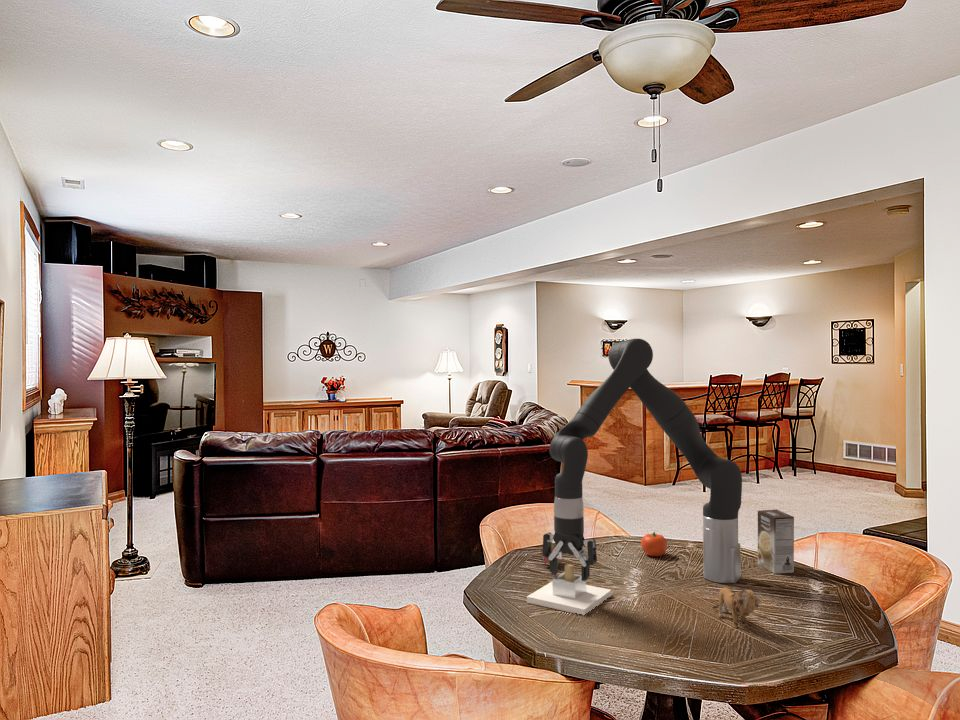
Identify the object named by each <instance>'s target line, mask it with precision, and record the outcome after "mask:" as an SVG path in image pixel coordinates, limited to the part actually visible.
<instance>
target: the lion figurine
mask: <svg viewBox="0 0 960 720" xmlns="http://www.w3.org/2000/svg"><path fill="white" fill-rule="evenodd" d="M718 593H719V594H718V603H717V604H716V605H713V606H712V609H713V610H715V609H718V615H717V617H718V618H719V619H723V618H724V615H723V612H724V613H726V614H727V613H729V611H731V614H732V627H735V628H734V629H738V628H737V627H739V628H740V626H739V623H738V616H740V625H741V626H742V625H743V627H748V623H747V622H745V620H746V617H748V616H749V615H750V614H752V613H753V612H754V611H755V610H756V609H758V608H759V606H760V605H761V602H762V600H761V599H760V598H758V597H757V596H756V595H755V594H754V591H753V590H751V589H744V590H739V591H735V592H734V593H733V591H732V590H731V589H730V588H728V587H723V588H721V589H720V590H719V592H718ZM728 609H729V610H728Z"/></svg>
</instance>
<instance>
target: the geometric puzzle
mask: <svg viewBox="0 0 960 720" xmlns="http://www.w3.org/2000/svg"><path fill="white" fill-rule="evenodd" d="M556 546H557V545H556V543H554V542H553V541H552V542H551V552H552V551H553V550H554V548H555V547H556ZM540 552H541V555H542V554H543V548H541V549H540ZM563 555H564V554H563V553H562V552H561V553H560V554H559V555H558V556H557V558H556V559H558V564H559V565H560V563H561V561H563ZM542 559H543V562H544V564H545V565H546V563H548V565H550V560H549V559H548V558H547V557H544V556H543V555H542V557H541V558H540V557H539V558H538V560H541V561H542Z"/></svg>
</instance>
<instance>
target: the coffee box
mask: <svg viewBox="0 0 960 720" xmlns="http://www.w3.org/2000/svg"><path fill="white" fill-rule="evenodd" d="M794 560H795V517H794V516H793V515H791V514H788V513H787V512H786V513H785V512H783V511H781V510H778V509H764V510H763V509H762V510H757V565H759V566H760V567H762V568H764V569H766V570H767V571H769V572H771V573H773V574H789V573H794V572H795V571H794V570H795V565H794V564H795V561H794Z"/></svg>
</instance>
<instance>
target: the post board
mask: <svg viewBox="0 0 960 720" xmlns="http://www.w3.org/2000/svg"><path fill="white" fill-rule="evenodd" d="M564 572H565V580H568V581H574V574H575V565H574V564H571V563H569V564H565V565H564ZM608 597H609V598H610V597H612V589H609V588H604V587H599V586H594V585H590V584H586V592H585V593H584V594H583V595H581V596H580V597H578V598H577V599H571V598H566V597H562V596H557V595H553V587H552V581H550V582H549V583H546V584H545V585H544V586H542V587H540V588H538V589H537V590H535V591H534V592H532V593H530V594H529V595H527V596H526V603H528V604H532V605H536V606H541V607H544V608H550V609H554V610H558V611H563V612H567V613H570V614H575V613H577V614H576V615H579V614H582V615H581V616H584V615H585V614H586V613H588V612H589V611H590V612H592V611H593V610H595V607H596V606H597V607H598V606H600V605H601V604H602V603H603V601H604V600H605V601H606V600H608V599H609V598H608ZM607 598H608V599H607ZM605 601H604V602H605ZM600 603H601V604H600ZM599 604H600V605H599ZM597 607H596V608H597ZM592 609H593V610H592ZM591 610H592V611H591ZM590 612H589V613H590ZM589 613H588V614H589ZM586 615H587V614H586ZM586 615H585V616H586Z"/></svg>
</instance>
